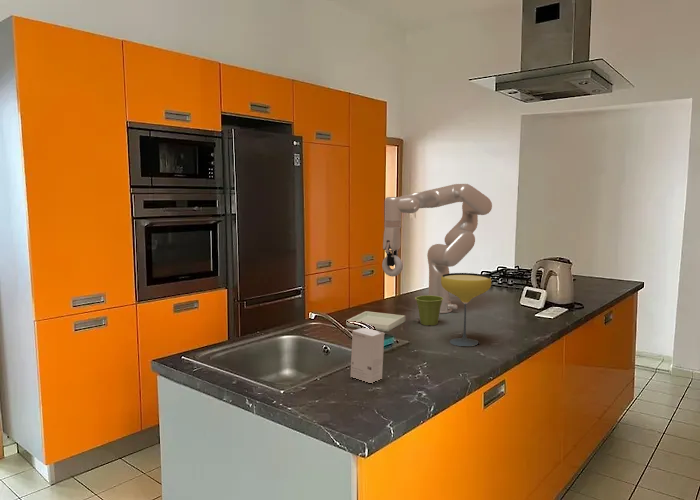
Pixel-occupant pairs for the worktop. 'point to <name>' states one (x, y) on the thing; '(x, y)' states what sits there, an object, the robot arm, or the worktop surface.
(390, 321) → the tray
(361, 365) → the skincare box
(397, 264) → the donut
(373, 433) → the worktop surface
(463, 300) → the cocktail glass
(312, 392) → the worktop surface
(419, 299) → the plant pot
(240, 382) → the worktop surface
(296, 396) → the worktop surface
